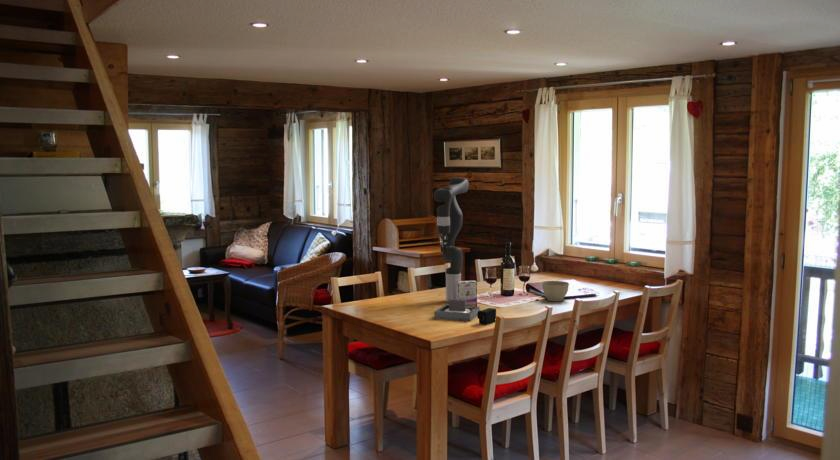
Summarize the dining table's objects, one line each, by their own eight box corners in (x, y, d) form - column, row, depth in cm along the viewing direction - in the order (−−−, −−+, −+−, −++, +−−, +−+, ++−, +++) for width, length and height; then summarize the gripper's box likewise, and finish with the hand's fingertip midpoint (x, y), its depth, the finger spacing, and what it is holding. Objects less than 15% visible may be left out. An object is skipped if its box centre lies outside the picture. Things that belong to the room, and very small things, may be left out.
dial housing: (445, 311, 396) (445, 304, 395) (479, 313, 389) (479, 306, 389) (434, 318, 377) (434, 311, 376) (470, 321, 370) (470, 313, 370)
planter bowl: (570, 302, 418) (571, 284, 417) (544, 302, 419) (544, 284, 418) (565, 297, 434) (566, 280, 433) (539, 297, 435) (540, 280, 434)
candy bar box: (474, 308, 404) (474, 280, 403) (477, 309, 399) (477, 281, 398) (456, 309, 402) (456, 280, 401) (458, 310, 397) (458, 282, 396)
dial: (442, 314, 378) (442, 301, 377) (447, 308, 391) (447, 297, 390) (467, 315, 374) (467, 302, 374) (472, 310, 388) (472, 298, 387)
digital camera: (487, 320, 373) (487, 307, 372) (496, 321, 370) (496, 308, 369) (476, 324, 365) (476, 310, 364) (485, 325, 361) (485, 312, 361)
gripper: (435, 223, 401) (435, 251, 403) (438, 225, 387) (438, 254, 389) (448, 223, 402) (448, 251, 403) (451, 225, 388) (452, 254, 389)
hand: (443, 252), depth 396 cm, fingers open, 8 cm apart
